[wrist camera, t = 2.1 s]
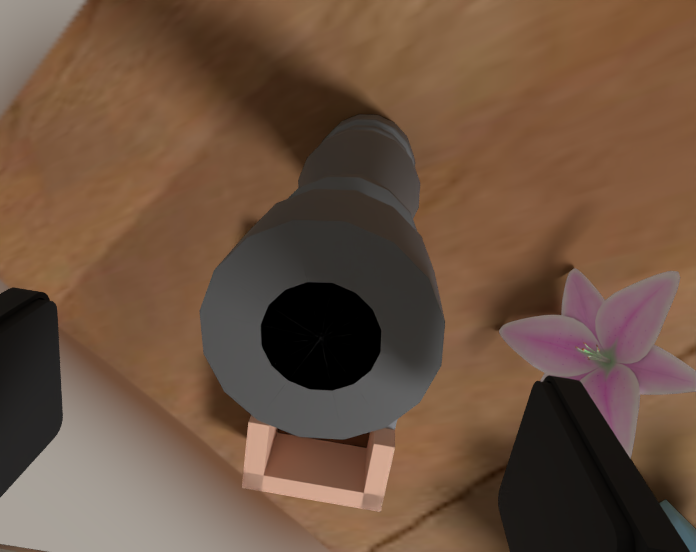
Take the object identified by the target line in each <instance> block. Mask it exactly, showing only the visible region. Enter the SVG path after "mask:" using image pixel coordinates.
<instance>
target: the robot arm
mask: <svg viewBox="0 0 696 552" xmlns="http://www.w3.org/2000/svg"><path fill="white" fill-rule="evenodd" d="M62 416H63V413H62V394H61V375H60V356H59V336H58V316H57V306H56V304H55V303H54V302H53V301H50V300H49V297H48V295H47V294H45V293H44V292H38V291H32V290H26V289H19V288H10V289H8V290H6V291H4V292H3V293H1V294H0V497H1V496H2V495H3V494H4V493H5V492H6V491H7V490H8V488H9V487H10V486H11V485H12V484H13V483H14V482H15V481H16V479H17V478H18V477H19V476H20V475H21V474H22V473H23V472H24V471H25V470H26V468H27V467H28V466H29V465H30V464H31V463H32V462H33V461H34V460H35V458H36V457H37V456H38V455H39V454H40V453H41V452H42V451H43V450H44V449H45V448H46V446H47V445H48V444H49V443H50V442H51V441H52V440H53V439H54V438H55V436H56V435H57V433H58V432H59V430H60V427H61V424H62V418H63V417H62ZM498 506H499V511H500V515H501V519H502V523H503V526H504V530H505V534H506V538H507V542H508V545H509V549H510V552H690V551H689V549H688V547H687V546H686V544H685V543H684V541H683V540H682V538H681V537H680V535H679V533H678V532H677V530H676V529H675V527H674V526H673V524H672V523H671V521H670V519H669V518H668V516H667V515H666V513H665V512H664V510H663V509H662V507H661V505H660V504H659V502H658V501H657V499H656V498H655V496H654V495H653V493H652V491H651V490H650V488H649V487H648V485H647V484H646V482H645V481H644V479H643V477H642V476H641V474H640V473H639V471H638V470H637V468H636V467H635V465H634V463H633V462H632V460H631V459H630V457H629V456H628V454H627V453H626V451H625V449H624V448H623V446H622V445H621V443H620V442H619V440H618V439H617V437H616V435H615V434H614V432H613V431H612V429H611V428H610V426H609V425H608V423H607V421H606V420H605V418H604V417H603V415H602V414H601V412H600V411H599V409H598V408H597V406H596V404H595V403H594V401H593V400H592V398H591V397H590V395H589V394H588V392H587V390H586V389H585V387H584V386H583V384H582V383H581V382H580V381H579V380H575V379H569V378H563V377H556V376H550V375H548V376H547V377H545V379H544V380H543V382H541V381H536V382H535V383H534V385H533V387H532V390H531V393H530V396H529V399H528V403H527V406H526V409H525V412H524V415H523V418H522V421H521V424H520V427H519V431H518V434H517V437H516V440H515V443H514V446H513V449H512V452H511V455H510V458H509V462H508V465H507V468H506V471H505V474H504V477H503V480H502V483H501V486H500V490H499V496H498ZM0 552H47V551H41V550H34V549H29V548H22V547H16V546H10V545H4V544H0Z"/></svg>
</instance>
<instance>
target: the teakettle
mask: <svg viewBox="0 0 696 552" xmlns="http://www.w3.org/2000/svg"><path fill="white" fill-rule="evenodd" d="M659 504H660V505H661V507H662V509H663V510H664V512H665V513H666V515H667V516H668V518H669V519H670V521H671V523H672V524H673V526H674V527H675V529H676V530H677V532H678V533H679V535H680V537H681V538H682V540H683V541H684V543H685V544H686V546H687V547H688V549H689V551H690V552H696V529H695V528H694V527H693V526H692V525H691V524H690V523H689V522H688V521H687V520H686V519H685V518H684V517H683V516H682V515H681V514H680V513H679V512H678V511H677V510H676V509H675V508H674V507H673V506H672V505H671V504H670V503H669V502H668V501H667V500H666V499H665V500H664V501H662V502H660V503H659Z"/></svg>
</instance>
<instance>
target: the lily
mask: <svg viewBox="0 0 696 552" xmlns="http://www.w3.org/2000/svg"><path fill="white" fill-rule="evenodd" d="M679 281H680V276H679V273H678V272H675V271H668V272H664V273H660V274H657V275H654V276H652V277H649V278H646V279H644V280H641V281H639V282H637V283H635V284H632V285H630V286H628V287H626V288H624V289H622V290H620V291H618V292H616V293H614V294H613V295H611V296H610V297H609V298H607V299H606V300H604V298H603V297H602V296H601V294H600V293H599V291H598V290H597V289H596V288H595V287H594V286H593V284H592V283H591V282H590V281H589V280H588V279H587V278H586V277H585V276H584V275H583V274H582V273H581V272H580V271H579V270H578V269H575V268H574V269H573V270H571V271H570V272H569V274H568V277H567V280H566V285H565V289H564V294H563V301H562V315H543V316H535V317H530V318H525V319H520V320H516V321H512V322H509V323H507V324H504V325H503V326H502V327H501V328H500V330H499V333H500V335H501V337H502V338H503V339H504V341H505V342H506V343H507V344H508V345H509V346H510V347H511V348H512V349H513V350H514V351H516V352H517V353H518V354H519V355H520V356H521V357H522V358H524V359H525V360H526V361H527V362H529V363H530V364H531V365H532V366H534V367H535V368H537V369H539V370H540V371H542V372H544V373H545V374H544V375H543V377H542V379H541V382H543V380H544V379H545V377H547V376H548V375H550V376H556V377H563V378H569V379H575V380H579V381H580V382H581V383H582V384H583V386H584V387H585V389H586V390H587V392H588V394H589V395H590V397H591V398H592V400H593V401H594V403H595V404H596V406H597V408H598V409H599V411H600V412H601V414H602V415H603V417H604V418H605V420H606V421H607V423H608V425H609V426H610V428H611V429H612V431H613V432H614V434H615V435H616V437H617V439H618V440H619V442H620V443H621V445H622V446H623V448H624V449H625V451H626V453H627V454H628V456H629V457H630V459H631V456H632V450H633V445H634V439H635V432H636V424H637V418H638V411H639V402H640V394H644V395H660V394H677V393H687V392H695V391H696V371H695V370H694V369H692V368H691V367H690V366H688V365H687V364H686V363H684V362H683V361H681V360H680V359H678V358H677V357H675V356H673V355H672V354H670V353H669V352H667V351H665V350H663V349H662V348H660V347H658V346H656V345H654V343H655V341H656V339H657V337H658V335H659V333H660V331H661V328H662V326H663V323H664V321H665V318H666V316H667V314H668V311H669V309H670V307H671V304H672V302H673V299H674V297H675V294H676V292H677V289H678V285H679Z"/></svg>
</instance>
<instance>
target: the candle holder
mask: <svg viewBox="0 0 696 552" xmlns="http://www.w3.org/2000/svg"><path fill="white" fill-rule="evenodd" d="M298 185H299V188H298V189H297V190H296V191H295V192H294V193H293V194H292V195H291V196H290V197H289V198H288V199H286V200H284V201H281V202H279V203H276V204H275V205H274V206H273V207H272V208H271V209H270V210H269V211H268V212H267V213H266V214H265V215H264V216H263V217H262V218H261V219H260V220H259V221H258V222H257V223H256V224H255V225H254V226H253V227H252V228H251V229H250V230H249V231H248V232H247V234H246V235H245V236H244V237H243V238H242V239H241V240H240V241H239V243H238V244H237V245H236V246H235V247H234V248H233V249H232V251H231V252H230V253H229V254H228V255H227V256H226V257H225V258H224V260H223V261H222V262H221V263H220V264H219V265H218V266H217V268H216V269H215V270H214V272H213V275H212V278H211V281H210V283H209V286H208V289H207V292H206V295H205V297H204V300H203V303H202V306H201V309H200V320H201V331H202V341H203V352H204V355H205V357H206V359H207V361H208V363H209V364H210V366H211V368H212V370H213V372H214V373H215V375H216V377H217V379H218V381H219V383H220V384H221V386H222V388H223V390H224V392H225V393H227V394H228V395H229V396H230V397H231V398H232V399H234V400H235V401H236V402H237V403H238V404H239V405H240V406H242V407H243V408H244V409H245V410H246V411H247V412H249V413H250V414H251V415H252V416H253V417H254V418H256V419H257V420H258V421H261V422H263V423H266V424H268V425H271V426H273V427H276V428H278V429H281V430H283V431H286V432H288V433H291V434H293V435H296V436H298V437H309V438H326V439H343V440H344V439H347V438H351V437H354V436H358V435H362V434H365V433H369V432H372V431H376V430H379V429H383V428H386V427H387V426H389V425H390V424H391V423H393V422H394V421H395V420H397V419H398V418H399V417H401V416H402V415H403V414H405V413H406V412H407V411H409V410H410V409H412V408H413V407H414V406H416V405H417V404H418V403H420V401H421V400H422V398H423V396H424V394H425V393H426V391H427V389H428V388H429V386H430V384H431V382H432V381H433V379H434V377H435V375H436V374H437V372H438V370H439V369H440V367H441V363H442V351H443V340H444V329H445V320H444V315H443V310H442V305H441V301H440V296H439V291H438V287H437V282H436V277H435V273H434V270H433V267H432V264H431V262H430V259H429V256H428V253H427V251H426V248H425V245H424V242H423V240H422V237H421V235H420V234H419V233H418V232H417V229H416V227H415V224H414V221H413V218H414V216H415V214H416V212H417V210H418V208H419V193H420V181H419V178H418V175H417V172H416V170H415V159H414V155H413V152H412V149H411V146H410V144H409V141H408V138H407V136H406V135H405V134H404V133H403V131H402V130H401V129H400V128H399V127H398V126H397V125H396V124H395V123H394V122H392V121H390V120H388V119H386V118H383V117H381V116H379V115H363V114H358V115H356V116H354V117H351V118H349V119H346V120H344V121H341V122H340V123H339V124H338V125H337V126H336V127H335V128H334V129H333V130H332V131H331V132H330V134H329V135H328V136H327V137H326V138H325V139H324V140H323V141H322V143H321V144H320V145H319V146H318V147H317V148H316V149H315V150H314V151H313V152H312V153H311V154H310V155H309V156H308V157H307V159H306V162H305V165H304V167H303V170H302V172H301V175H300V177H299V180H298Z"/></svg>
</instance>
